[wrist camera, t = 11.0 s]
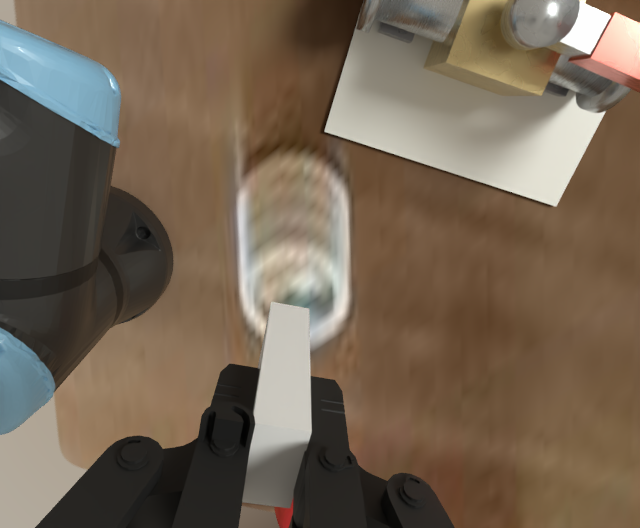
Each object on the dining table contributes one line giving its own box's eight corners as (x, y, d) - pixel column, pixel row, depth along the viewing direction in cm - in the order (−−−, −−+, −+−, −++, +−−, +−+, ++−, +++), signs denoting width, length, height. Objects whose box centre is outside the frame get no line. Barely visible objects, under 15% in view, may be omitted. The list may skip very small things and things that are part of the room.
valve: (350, 43, 39) (360, 28, 30) (381, -58, 36) (401, -108, 27) (566, 119, 41) (633, 125, 33) (610, 29, 39) (697, 9, 30)
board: (324, 131, 42) (324, 131, 41) (376, -45, 37) (377, -46, 36) (554, 205, 45) (556, 206, 44) (633, 52, 39) (636, 51, 39)
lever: (489, 37, 30) (529, 24, 25) (517, -25, 29) (567, -55, 23) (689, 124, 32) (769, 130, 27) (724, 69, 31) (816, 63, 25)
